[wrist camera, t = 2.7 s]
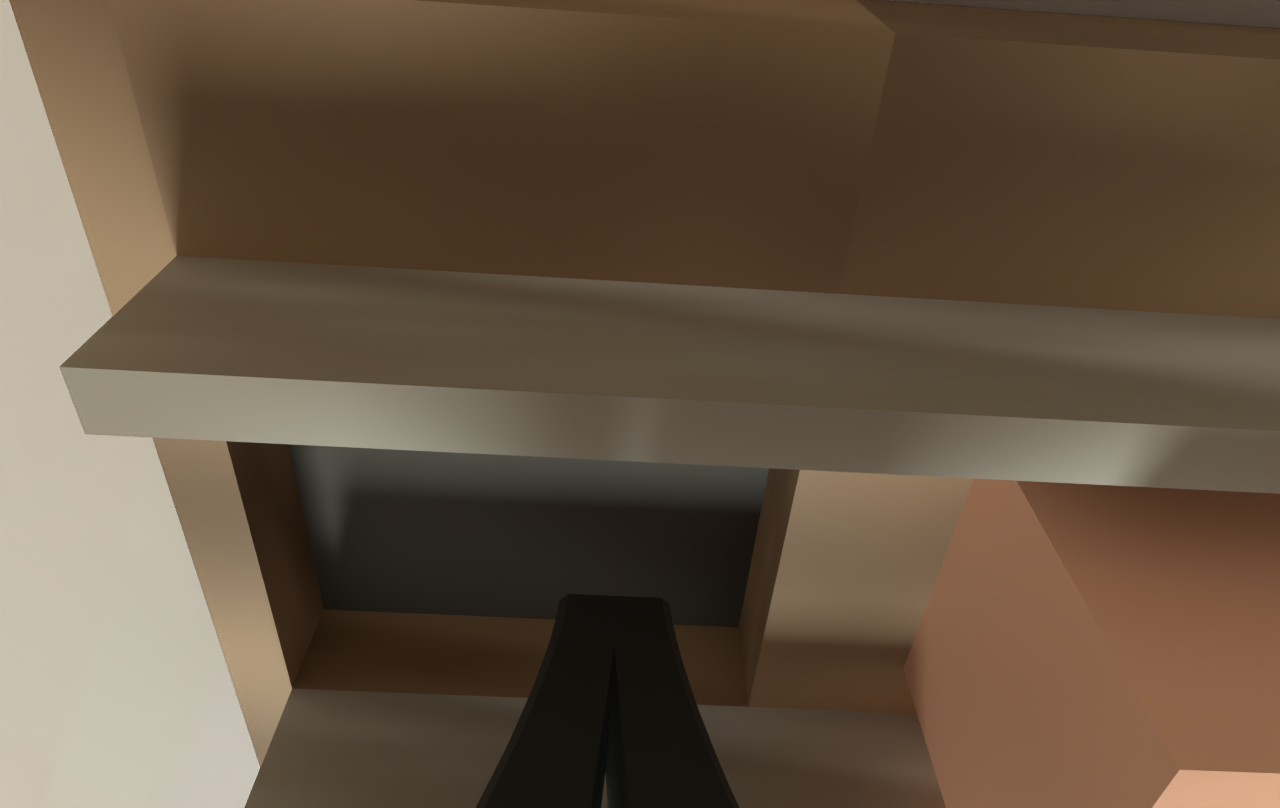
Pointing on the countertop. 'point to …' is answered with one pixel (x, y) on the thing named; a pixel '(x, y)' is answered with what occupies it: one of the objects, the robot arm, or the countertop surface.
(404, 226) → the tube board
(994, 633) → the block
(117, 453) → the countertop surface
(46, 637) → the countertop surface
